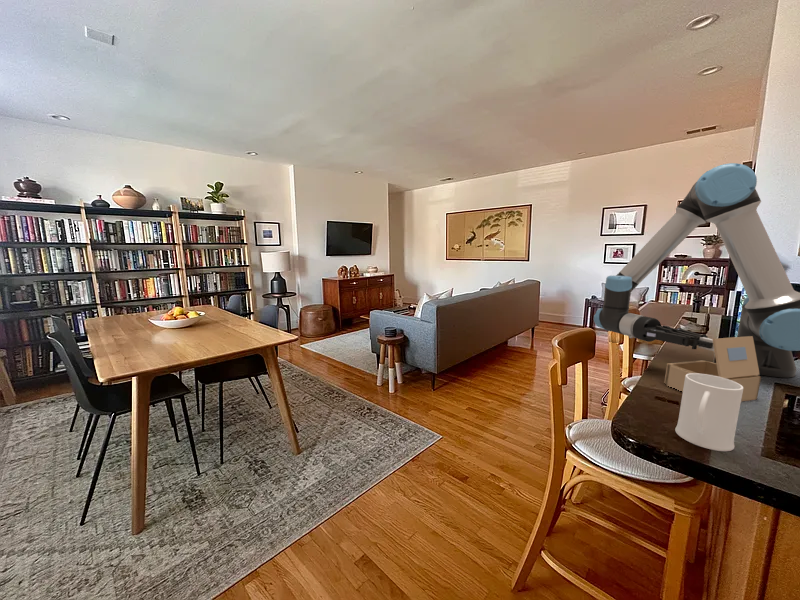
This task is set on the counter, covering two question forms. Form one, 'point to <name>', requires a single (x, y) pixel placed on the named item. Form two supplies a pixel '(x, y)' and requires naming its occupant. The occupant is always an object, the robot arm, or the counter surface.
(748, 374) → the flap
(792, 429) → the counter surface
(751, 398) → the carton
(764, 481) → the counter surface
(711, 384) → the mug
